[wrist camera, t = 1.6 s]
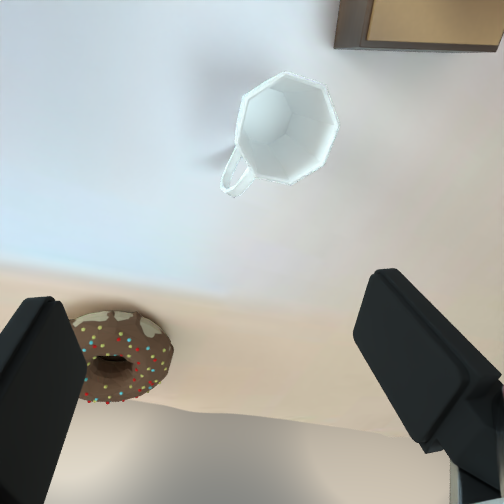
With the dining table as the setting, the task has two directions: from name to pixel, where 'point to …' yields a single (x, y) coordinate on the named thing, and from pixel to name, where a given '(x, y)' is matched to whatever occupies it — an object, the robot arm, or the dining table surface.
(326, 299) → the dining table surface
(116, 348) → the donut
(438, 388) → the robot arm
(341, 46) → the block
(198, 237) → the dining table surface
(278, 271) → the dining table surface
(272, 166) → the cup
